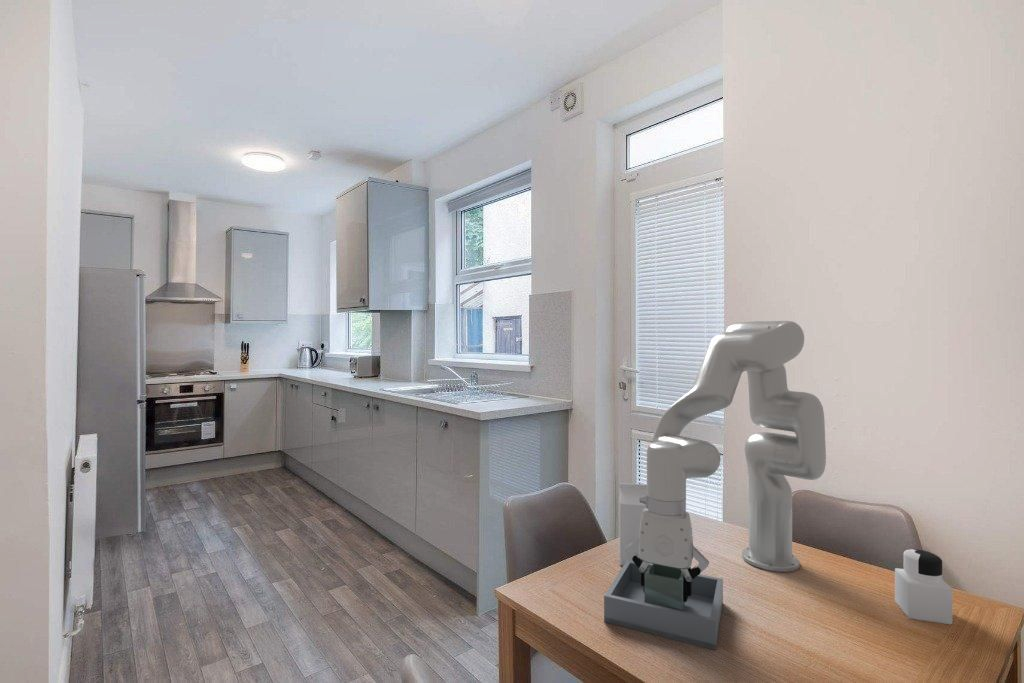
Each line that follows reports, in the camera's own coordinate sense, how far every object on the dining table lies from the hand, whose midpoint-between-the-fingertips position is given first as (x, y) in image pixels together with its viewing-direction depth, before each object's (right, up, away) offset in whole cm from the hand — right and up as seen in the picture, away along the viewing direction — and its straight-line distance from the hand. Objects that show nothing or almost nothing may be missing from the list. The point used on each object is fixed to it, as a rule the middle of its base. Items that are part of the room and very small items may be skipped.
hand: (666, 593), depth 101 cm
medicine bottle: (+51, -4, 0) cm, 52 cm away
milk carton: (-1, -4, +24) cm, 24 cm away
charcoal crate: (0, -4, 0) cm, 4 cm away
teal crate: (0, -1, 0) cm, 1 cm away
